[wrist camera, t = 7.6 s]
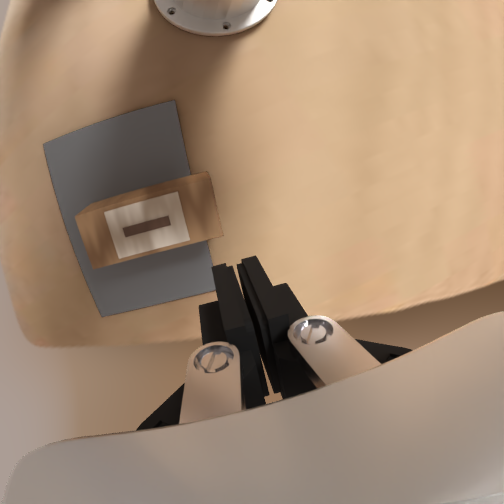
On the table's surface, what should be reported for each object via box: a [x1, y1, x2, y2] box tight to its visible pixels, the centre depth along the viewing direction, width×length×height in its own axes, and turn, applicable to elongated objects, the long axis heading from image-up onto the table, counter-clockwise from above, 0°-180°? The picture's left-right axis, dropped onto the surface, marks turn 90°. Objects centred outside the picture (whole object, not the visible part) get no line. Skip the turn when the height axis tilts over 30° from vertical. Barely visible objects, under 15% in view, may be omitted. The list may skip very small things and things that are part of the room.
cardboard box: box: [75, 171, 223, 270], centre depth 27 cm, size 5×5×12 cm
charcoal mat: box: [43, 100, 216, 317], centre depth 29 cm, size 20×14×1 cm
